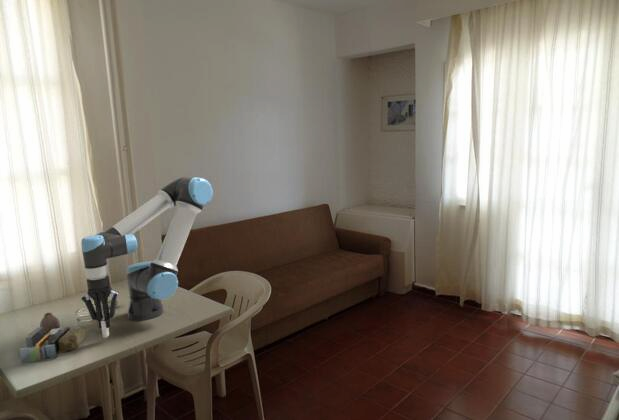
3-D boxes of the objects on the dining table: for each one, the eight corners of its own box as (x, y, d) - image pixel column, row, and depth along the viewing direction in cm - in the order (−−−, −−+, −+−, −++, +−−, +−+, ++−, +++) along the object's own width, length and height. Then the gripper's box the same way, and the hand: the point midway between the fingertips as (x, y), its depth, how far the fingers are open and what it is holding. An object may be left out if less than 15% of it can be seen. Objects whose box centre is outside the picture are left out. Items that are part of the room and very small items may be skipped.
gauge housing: (71, 340, 167) (69, 324, 166) (55, 358, 153) (52, 340, 152) (40, 344, 166) (37, 327, 165) (21, 362, 152) (18, 344, 151)
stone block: (87, 337, 170) (85, 326, 169) (74, 352, 158) (72, 339, 157) (72, 339, 169) (70, 327, 168) (58, 353, 158) (55, 341, 157)
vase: (46, 339, 170) (43, 318, 169) (38, 335, 174) (34, 315, 172) (64, 332, 176) (61, 311, 175) (55, 329, 180) (52, 309, 178)
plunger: (70, 337, 169) (68, 322, 168) (51, 359, 152) (48, 343, 151) (59, 338, 169) (57, 324, 168) (38, 360, 152) (35, 344, 151)
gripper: (118, 272, 165) (126, 329, 169) (83, 275, 163) (91, 333, 167) (112, 278, 158) (121, 338, 161) (75, 281, 156) (84, 342, 160)
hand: (106, 335), depth 164 cm, fingers closed
